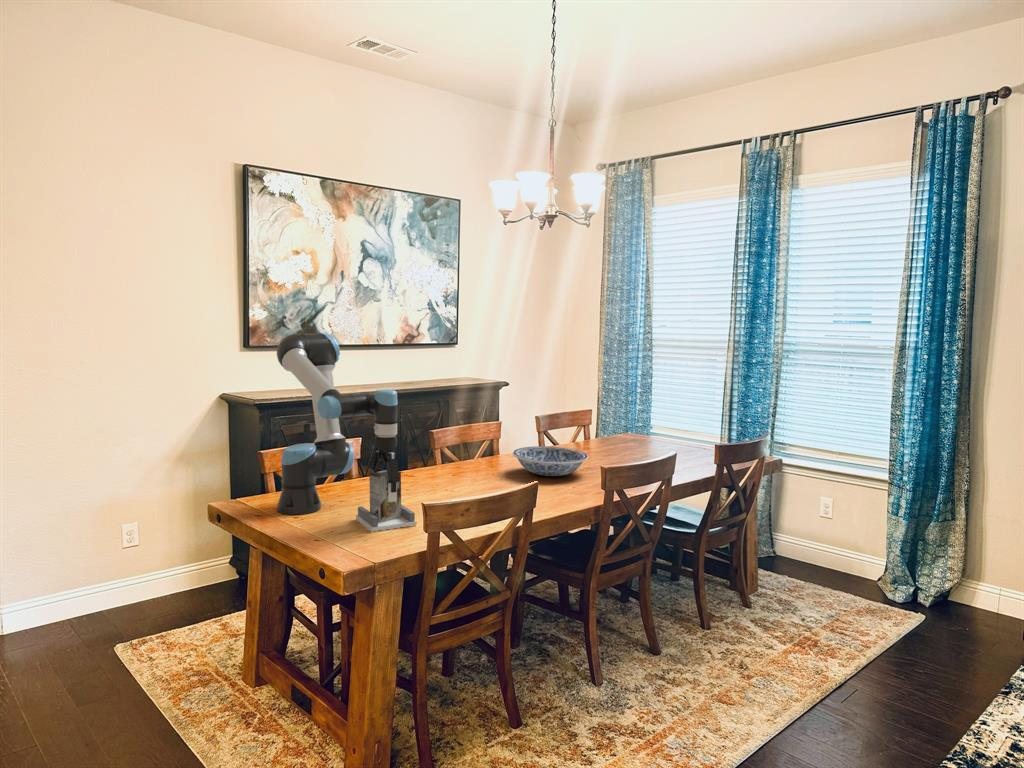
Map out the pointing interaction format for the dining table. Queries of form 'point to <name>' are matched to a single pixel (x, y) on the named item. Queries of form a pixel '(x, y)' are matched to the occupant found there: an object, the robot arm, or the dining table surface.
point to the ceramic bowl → (550, 460)
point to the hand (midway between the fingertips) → (385, 496)
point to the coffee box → (383, 497)
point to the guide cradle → (373, 524)
